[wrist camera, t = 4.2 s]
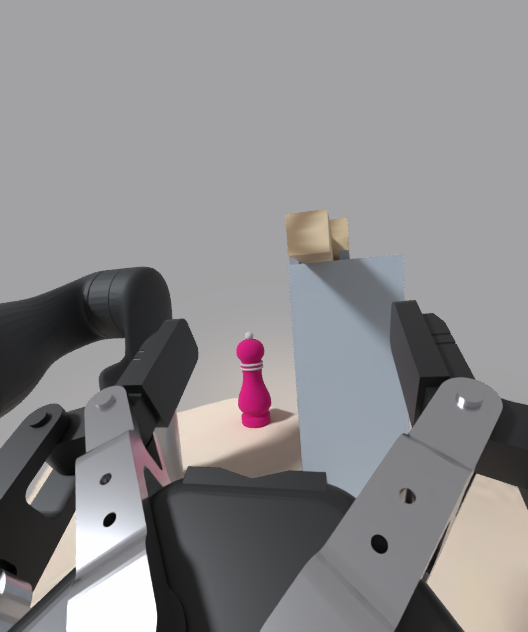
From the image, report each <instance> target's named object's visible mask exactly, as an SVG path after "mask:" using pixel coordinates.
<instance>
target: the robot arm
mask: <svg viewBox="0 0 528 632" xmlns="http://www.w3.org/2000/svg"><path fill="white" fill-rule="evenodd" d="M112 338H125V357H124V358H123V359H122V360H121V362H119V363H116V364H114V365H112V366H109V367H108V368H106V369H104V370H103V371H102V372H101V373H100V376H99V386H100V392H98V393H97V394H95V395H94V396H93V397H92V398H91V399H90V400H89V402H88V403H87V405H86V407H83V408H79V409H76V410H72V411H69V412H66V411H65V410H64V409H63V408H62V407H61V406H60V405H59V404H49V405H46V406H43V407H41V408H39V409H37V410H35V411H34V412H33V413H31V414H30V415H29V416H28V417H27V418H25V420H24V421H23V422H22V423H21V424H20V425H19V427H18V428H17V429H16V430H15V432H14V433H13V434H12V435H11V436H10V438H9V439H8V440H7V441H6V443H5V444H4V445H3V446H2V448H1V449H0V632H464V631H463V629H462V628H461V627H460V625H459V624H458V623H457V622H456V620H455V619H454V618H453V616H452V615H451V614H450V613H449V611H448V610H447V609H446V607H445V606H444V605H443V604H442V602H441V601H440V600H439V598H438V597H437V596H436V595H435V593H434V592H433V591H432V589H431V588H430V587H429V586H428V584H427V581H428V579H429V577H430V575H431V573H432V571H433V568H434V566H435V564H436V562H437V560H438V558H439V555H440V553H441V551H442V549H443V547H444V544H445V542H446V540H447V538H448V535H449V533H450V531H451V528H452V526H453V524H454V522H455V519H456V517H457V515H458V513H459V511H460V509H461V507H462V504H463V502H464V500H465V498H466V496H467V494H468V492H469V489H470V487H471V485H472V483H473V481H474V479H475V477H476V474H480V475H483V476H486V477H489V478H493V479H496V480H499V481H502V482H505V483H508V484H511V485H515V486H518V488H519V490H520V493H521V495H522V497H523V500H524V502H525V504H526V507H527V509H528V405H525V404H520V403H515V402H511V401H508V400H505V399H502V398H500V396H499V395H498V394H497V392H496V391H494V390H493V389H492V388H491V387H489V386H488V385H486V384H484V383H482V382H480V381H478V380H476V379H475V378H474V376H473V374H472V372H471V370H470V368H469V367H468V365H467V363H466V361H465V359H464V357H463V355H462V354H461V352H460V350H459V348H458V346H457V344H455V340H454V338H453V337H452V335H451V333H450V331H449V329H448V327H447V325H446V323H445V322H444V321H443V320H441V319H440V318H439V317H438V316H436V315H435V314H433V313H429V314H422V313H421V311H420V308H419V306H418V304H417V302H416V300H410V301H397V302H392V305H391V322H390V346H391V352H392V355H393V359H394V363H395V366H396V370H397V374H398V378H399V381H400V385H401V389H402V392H403V396H404V400H405V403H406V407H407V411H408V414H409V418H410V422H411V425H412V429H411V431H410V432H409V433H408V434H405V433H403V434H401V435H400V436H399V437H398V438H397V440H396V441H395V442H394V444H393V445H392V447H391V448H390V450H389V451H388V453H387V454H386V456H385V457H384V459H383V460H382V461H381V463H380V464H379V466H378V467H377V469H376V470H375V472H374V473H373V475H372V476H371V478H370V479H369V481H368V482H367V483H366V485H365V486H364V488H363V489H362V491H361V492H360V494H359V495H358V497H357V498H355V497H354V496H353V495H351V494H349V493H348V492H346V491H345V490H343V489H341V488H339V487H337V486H334V485H331V484H328V482H327V475H326V472H313V471H285V472H281V473H276V474H272V475H267V476H263V477H258V478H248V477H245V476H242V475H239V474H236V473H233V472H231V471H228V470H225V469H222V468H217V467H193V466H188V468H187V471H186V474H185V477H184V475H183V464H182V455H181V446H180V437H179V428H178V419H177V410H176V408H177V406H178V404H179V401H180V399H181V396H182V395H183V392H184V390H185V388H186V385H187V383H188V381H189V379H190V376H191V374H192V372H193V369H194V367H195V365H196V363H197V360H198V347H197V345H196V342H195V340H194V337H193V335H192V333H191V330H190V328H189V326H188V323H187V321H186V320H185V319H172V309H171V299H170V294H169V290H168V286H167V284H166V282H165V280H164V278H163V277H162V275H161V274H160V273H159V272H158V271H156V270H155V269H153V268H150V267H133V268H124V269H116V270H106V271H99V272H95V273H92V274H90V275H87V276H85V277H82V278H80V279H78V280H75V281H73V282H71V283H69V284H66V285H64V286H61V287H59V288H56V289H54V290H52V291H49V292H46V293H44V294H41V295H38V296H36V297H32V298H29V299H25V300H20V301H14V302H7V303H1V304H0V418H1V417H2V416H4V415H5V414H7V413H8V412H10V411H11V410H12V409H14V408H15V407H16V406H17V405H18V404H20V403H21V402H22V401H23V400H24V399H25V398H26V397H27V396H28V395H29V394H30V392H31V391H32V390H33V389H34V388H35V386H36V385H37V384H38V382H39V381H40V380H41V378H42V377H43V375H44V374H45V372H46V370H47V369H48V368H49V367H50V365H52V364H53V363H54V362H55V361H56V360H58V359H59V358H61V357H62V356H64V355H66V354H67V353H69V352H72V351H74V350H76V349H78V348H81V347H83V346H85V345H88V344H90V343H93V342H96V341H99V340H103V339H112ZM44 462H46V463H48V464H49V465H50V466H51V467H52V468H53V470H52V472H51V473H50V475H49V477H48V478H47V480H46V481H45V483H44V484H43V486H42V488H41V489H40V491H39V492H38V494H37V495H36V497H35V499H34V500H33V502H32V503H31V505H29V504H28V503H27V502H26V498H25V495H26V490H27V488H28V486H29V484H30V483H31V481H32V480H33V478H34V477H35V475H36V474H37V472H38V471H39V470H40V468H41V467H42V465H43V463H44ZM75 510H76V567H75V568H74V569H73V570H72V571H71V572H70V573H68V574H67V575H66V576H65V577H64V578H63V579H62V580H61V581H60V582H59V583H58V584H57V585H56V586H55V587H54V588H53V589H51V590H50V591H49V592H48V593H47V594H46V595H45V596H44V597H43V598H42V599H41V600H40V601H39V602H38V603H37V604H36V605H34V606H33V607H32V608H30V605H31V601H32V593H33V591H34V589H35V587H36V585H37V583H38V581H39V579H40V577H41V576H42V574H43V572H44V570H45V568H46V566H47V564H48V562H49V560H50V558H51V556H52V555H53V553H54V551H55V549H56V547H57V545H58V543H59V541H60V539H61V537H62V535H63V533H64V532H65V530H66V528H67V526H68V524H69V522H70V520H71V518H72V516H73V514H74V512H75Z"/></svg>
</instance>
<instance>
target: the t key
mask: <svg viewBox="0 0 528 632" xmlns="http://www.w3.org/2000/svg"><path fill="white" fill-rule="evenodd" d="M285 216H286V231H287V244H288V256H289V257H291V258H294V259H296V260H298V261H300V262H302V264H305V263H316V262H326V261H337V260H339V251H343V250H349V238H348V220H347V218H342V219H334V220H329V217H328V211H327V209H323V210H316V211H308V212H301V213H294V214H287V215H285ZM349 259H350V257H349Z"/></svg>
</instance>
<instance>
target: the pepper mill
mask: <svg viewBox="0 0 528 632" xmlns="http://www.w3.org/2000/svg"><path fill="white" fill-rule="evenodd" d="M245 338H246V340H243V341H242V342H241V343H239V345H238V346H237V356H238V358H239V359H240V360H241V363H240V365H241V367H240V369H241V370H242V371H243V384H242V388H241V391H240V394H239V399H238V406H239V409H240V410H241V411H242V412H243V414H242V424H243V425H244V426H246V427H249V428H259V427H263V426H265V425H267V424H268V423H269V422H270V412H269V411H268V409H269V408H270V406H271V397H270V395H269V392H268V390H267V388H266V386H265V384H264V382H263V378H262V368H263V364H262V363H263V361H262V360H261V359H262V357H263V355H264V347H263V344H262V343H261V342H260V341H258V340H256V339H252V338H253V334H252V333H251V332H248V333H246V334H245Z"/></svg>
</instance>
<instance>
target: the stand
mask: <svg viewBox="0 0 528 632" xmlns="http://www.w3.org/2000/svg"><path fill="white" fill-rule="evenodd" d="M289 260H290V265H288V275H289V288H290V303H291V317H292V331H293V345H294V359H295V371H296V372H295V373H296V387H297V401H298V415H299V429H300V443H301V457H302V470H303V471H313V472H326V475H327V482H328V484H331V485H334V486H337V487H339V488H341V489H343V490H345V491H346V492H348V493H349V494H351V495H353V496H354V497H355V498H357V497H358V495H359V494H360V492H361V491H362V489H363V488H364V486H365V485H366V483H367V482H368V481H369V479H370V478H371V476H372V475H373V473H374V472H375V470H376V469H377V467H378V466H379V464H380V463H381V461H382V460H383V459H384V457H385V456H386V454H387V453H388V451H389V450H390V448H391V447H392V445H393V444H394V442H395V441H396V440H397V438H398V437H399V436H400V435H401V434H403V433H405V434H408V433H409V416H408V411H407V407H406V403H405V400H404V396H403V392H402V389H401V385H400V381H399V378H398V374H397V370H396V366H395V363H394V359H393V355H392V352H391V346H390V322H391V305H392V302H397V301H404V277H403V255H402V254H400V255H389V256H378V257H369V258H358V259H349V250H343V251H339V260H337V261H326V262H316V263H305V264H302V262H300V261H298V260H296V259H294V258H291V257H289Z"/></svg>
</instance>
